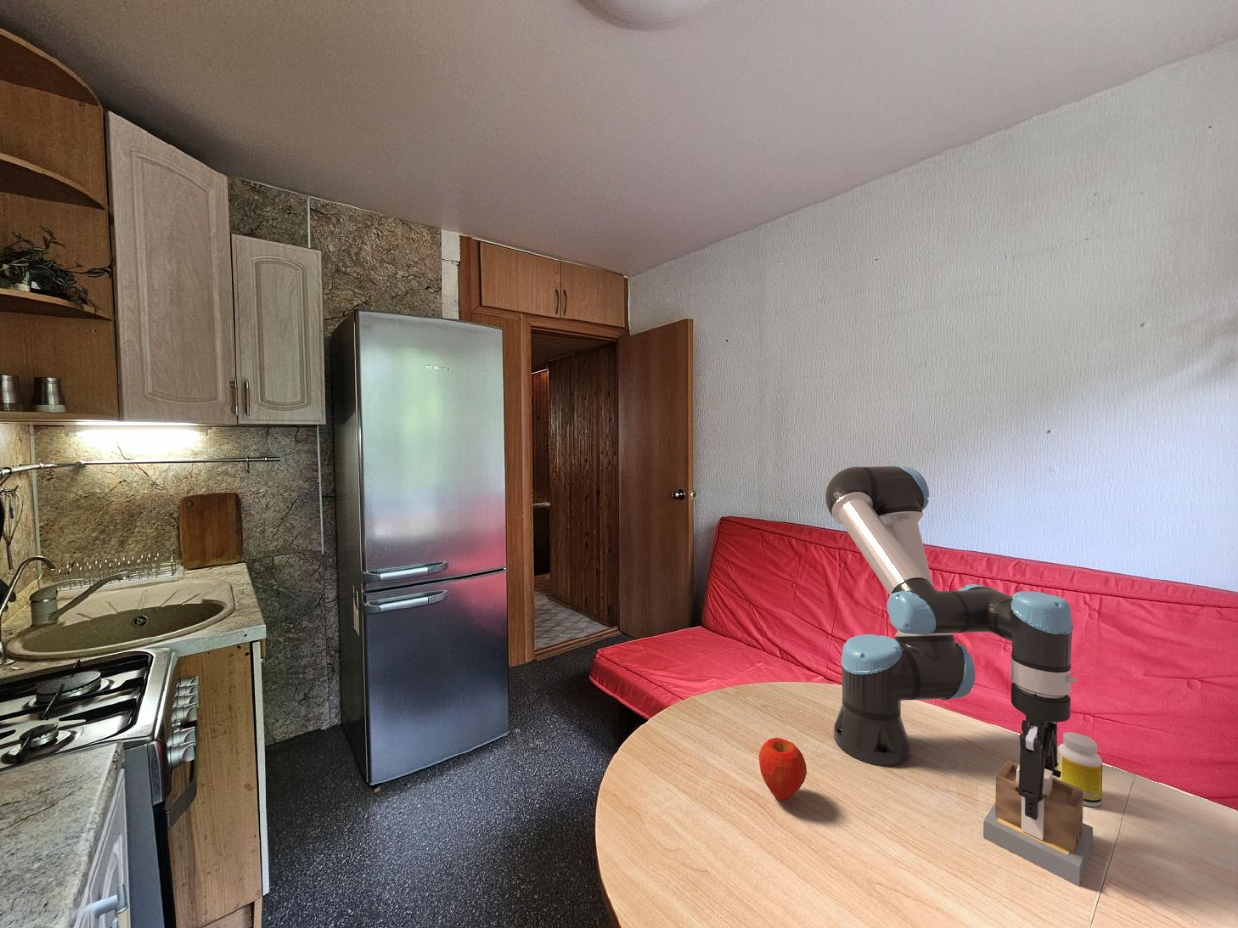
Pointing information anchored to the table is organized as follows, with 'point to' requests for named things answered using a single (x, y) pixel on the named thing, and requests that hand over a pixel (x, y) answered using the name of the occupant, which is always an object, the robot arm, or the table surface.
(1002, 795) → the stained wood crate
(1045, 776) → the block
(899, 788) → the table surface
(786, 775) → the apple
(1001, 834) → the dock
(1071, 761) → the pill bottle
